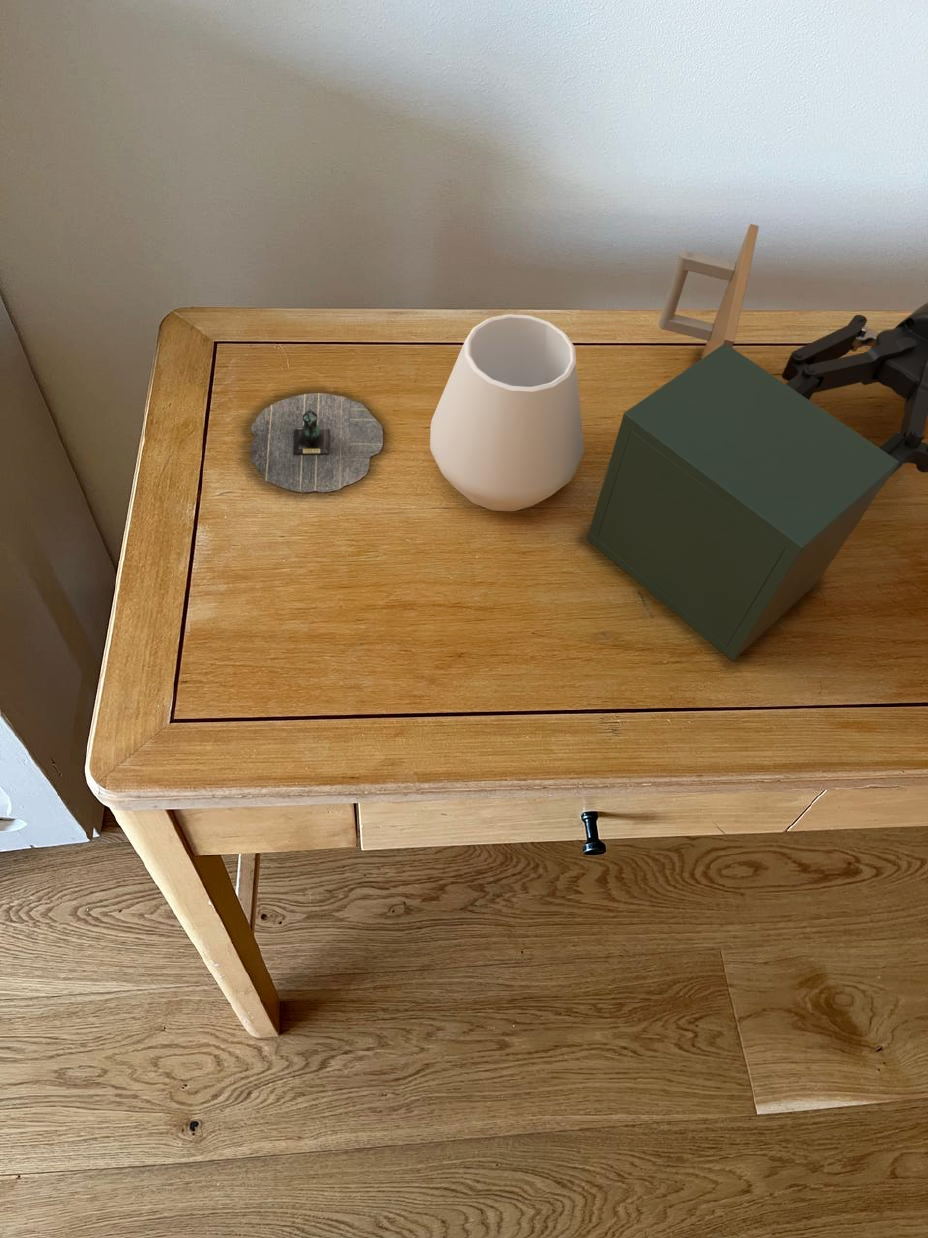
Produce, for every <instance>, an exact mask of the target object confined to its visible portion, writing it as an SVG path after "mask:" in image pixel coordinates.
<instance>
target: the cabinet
mask: <svg viewBox="0 0 928 1238" xmlns="http://www.w3.org/2000/svg"><path fill="white" fill-rule="evenodd" d="M898 463H899V461H897V460H896V459H895V458H893V457H892V456H890V455H889V454H887V453H886V452H884V451H883V450H881V449H880V447H878V446H877V445H876V444H874V443H873V442H871V441H870V440H869V439H867V438H865V436H863V435H861V434H859V433H858V432H857V431H855V430H854V429H852V428H851V427H849V426H848V425H846V424H845V423H843V422H842V421H840V420H839V419H837V418H836V417H834V416H833V415H832V414H830V413H829V412H827V411H826V410H824V409H822V407H820V406H819V405H817V404H816V403H814V402H812V401H811V399H810V400H808V399H807V398H805V397H804V396H802V395H801V394H799V393H798V392H796V391H795V390H793V389H792V388H790V387H789V386H788V385H786V382H783V381H781V379H779V378H778V377H776V376H775V375H773V374H771V373H770V372H769V371H767V370H766V369H764V368H763V367H761V366H760V365H758V364H757V363H755V362H754V361H752V360H751V359H750V358H749V357H747V356H745V355H744V354H742V353H741V352H739V351H738V350H736V349H735V348H734V347H730V346H729V345H727V344H726V343H724V344H723V345H721V346H720V347H718V348H717V349H716V350H714V351H713V352H711V353H710V354H708V355H707V356H705V357H704V358H703V359H700V360H698V361H697V362H695V363H694V364H693V365H691V366H689V367H688V368H687V369H685V370H684V371H682V372H680V373H679V374H678V375H676V376H675V377H673V378H672V379H671V380H670V381H668V382H667V383H665V384H664V385H662V386H661V387H659V388H657V389H656V390H655V391H653V392H652V393H651V394H649V395H648V396H646V397H645V398H643V399H641V401H639V402H638V403H636V404H635V405H633V406H632V407H631V408H629V409H627V410H626V411H625V412H624V413H623V415H622V418H621V422H620V425H619V429H618V431H617V435H616V439H615V441H614V445H613V449H612V451H611V455H610V458H609V462H608V465H607V468H606V472H605V476H604V479H603V483H602V486H601V490H600V493H599V496H598V500H597V503H596V506H595V510H594V513H593V516H592V520H591V524H590V527H589V530H588V534H587V537H586V540H587V541H588V542H589V543H590V544H591V545H593V547H595V548H596V549H597V550H599V551H600V552H601V553H602V554H603V555H604V556H606V557H607V558H608V559H609V560H611V561H612V562H613V563H614V564H615V565H616V566H618V568H620V569H621V570H623V571H624V572H625V573H626V574H627V575H629V576H630V577H631V578H632V579H634V581H636V583H638V584H640V585H641V587H643V588H644V589H645V590H646V591H648V592H649V593H650V594H651V595H652V596H654V597H655V598H656V599H657V600H658V601H659V602H661V603H662V604H663V605H664V606H665V607H667V608H668V609H669V610H670V611H671V612H673V613H674V614H675V615H676V616H678V617H679V619H681V620H682V621H683V622H685V623H686V624H687V625H688V626H690V627H691V628H692V629H693V630H695V631H696V632H697V633H698V634H699V635H700V636H702V638H703V639H705V640H706V641H708V642H709V643H710V644H711V645H712V646H714V647H715V648H716V649H717V650H718V651H720V652H721V653H722V654H723V655H724V656H725V657H726V658H728V660H731V661H732V662H734V661H735V660H736V659H737V658H738V657H739V656H740V655H741V654H742V653H743V652H744V651H745V650H746V649H748V648H749V647H750V646H751V645H752V644H753V643H754V642H755V641H756V640H757V639H758V638H759V637H761V636H762V635H763V634H764V633H765V632H766V631H767V630H768V629H769V628H770V627H771V626H773V624H775V623H776V622H777V621H778V620H779V619H780V618H782V616H783V615H784V614H785V613H786V612H787V611H789V610H790V609H791V608H792V607H793V606H794V605H795V604H796V603H797V602H798V601H799V600H800V599H802V597H804V596H805V595H806V594H807V593H808V592H809V591H810V590H811V589H812V588H813V587H814V586H816V584H818V582H819V581H820V580H821V578H822V577H823V576H824V574H825V572H826V571H827V569H828V568H829V566H830V565H831V563H832V562H833V560H834V559H835V558H836V556H837V555H838V553H839V551H840V550H841V549H842V547H843V546H844V545H845V543H846V541H847V540H848V538H849V537H850V536H851V534H852V533H853V531H854V530H855V528H856V527H857V525H858V524H859V522H860V521H861V519H862V518H863V516H864V515H865V514H866V512H867V510H868V509H869V508H870V507H871V505H872V503H873V502H874V500H875V499H876V497H877V496H878V494H879V493H880V492H881V490H882V489H883V487H884V486H885V484H886V483H887V481H888V480H889V478H890V477H891V476H892V475H893V474H892V472H893V471H894V469H895V468H896V466H897V465H898ZM891 474H892V475H891ZM890 475H891V476H890ZM889 476H890V477H889Z"/></svg>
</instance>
